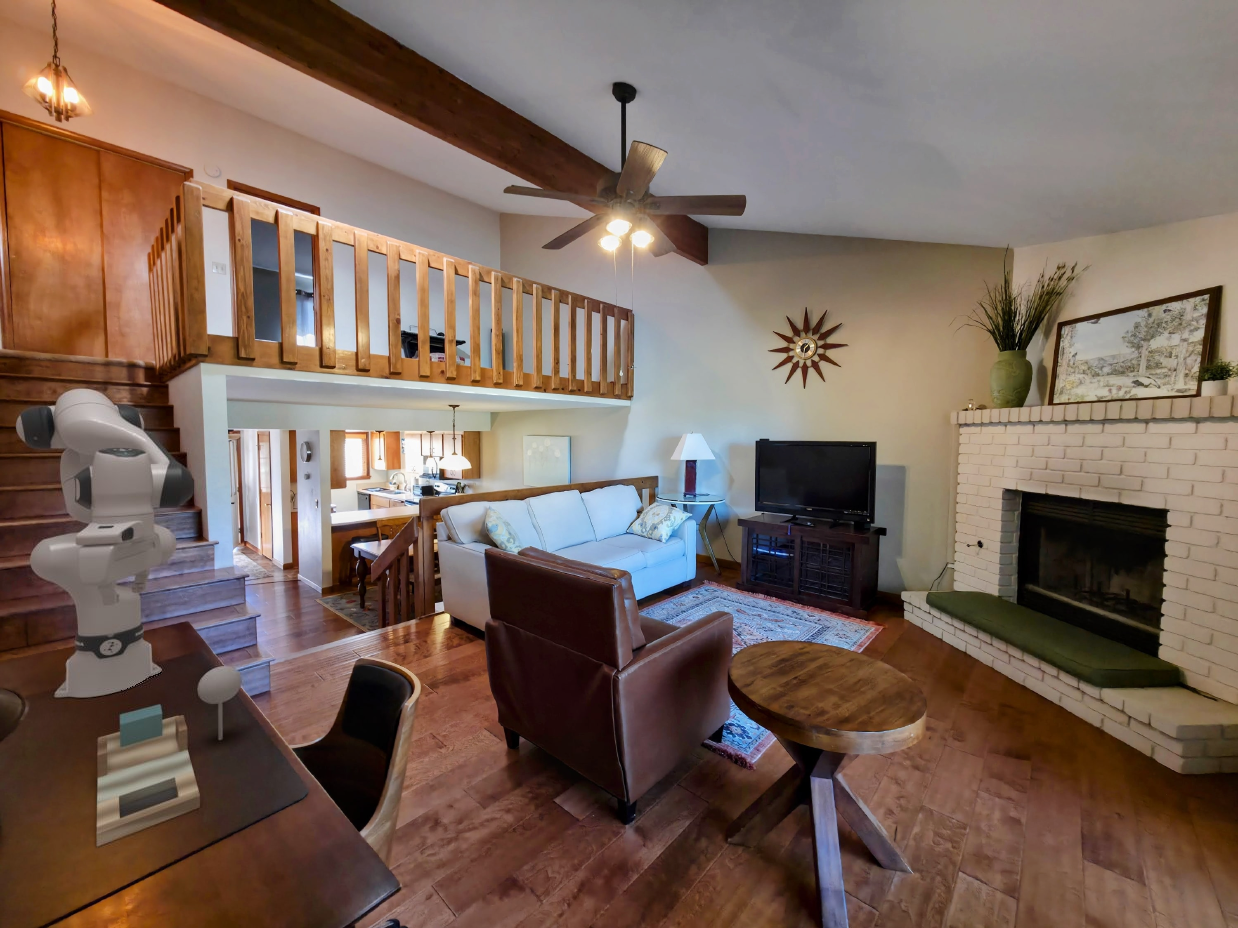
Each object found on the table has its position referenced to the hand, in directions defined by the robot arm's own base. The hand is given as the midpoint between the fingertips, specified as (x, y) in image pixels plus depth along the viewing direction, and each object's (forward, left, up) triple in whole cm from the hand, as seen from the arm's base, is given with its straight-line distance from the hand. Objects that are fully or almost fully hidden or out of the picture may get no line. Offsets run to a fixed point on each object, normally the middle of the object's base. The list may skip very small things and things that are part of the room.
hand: (125, 597), depth 100 cm
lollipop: (+11, +13, -30) cm, 35 cm away
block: (+3, +2, -28) cm, 28 cm away
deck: (+15, +2, -30) cm, 34 cm away
